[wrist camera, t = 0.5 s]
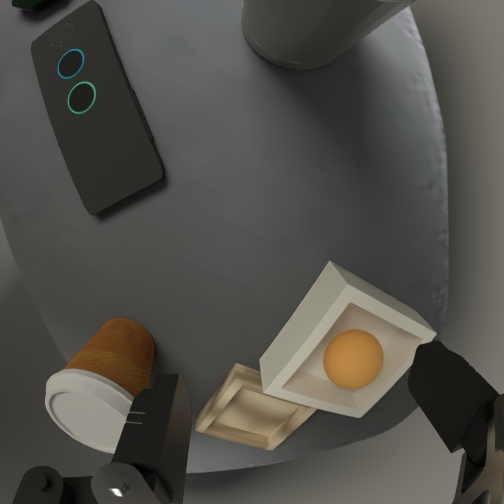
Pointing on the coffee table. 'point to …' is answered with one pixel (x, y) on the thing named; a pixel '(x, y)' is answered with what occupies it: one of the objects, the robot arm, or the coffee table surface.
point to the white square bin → (330, 325)
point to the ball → (353, 359)
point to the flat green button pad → (30, 4)
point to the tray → (249, 412)
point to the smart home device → (94, 110)
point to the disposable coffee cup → (102, 384)
